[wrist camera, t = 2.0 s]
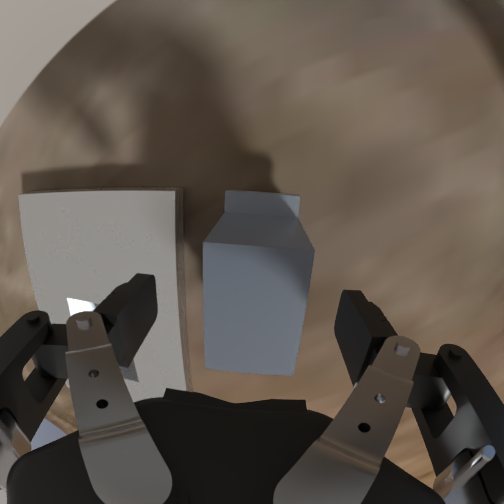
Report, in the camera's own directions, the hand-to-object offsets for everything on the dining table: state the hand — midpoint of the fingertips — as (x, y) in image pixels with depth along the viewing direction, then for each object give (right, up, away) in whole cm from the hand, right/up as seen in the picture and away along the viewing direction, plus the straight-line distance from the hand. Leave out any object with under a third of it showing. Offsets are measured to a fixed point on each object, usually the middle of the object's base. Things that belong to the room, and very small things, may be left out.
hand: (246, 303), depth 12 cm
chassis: (-12, -3, +9) cm, 15 cm away
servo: (+1, +2, +7) cm, 7 cm away
